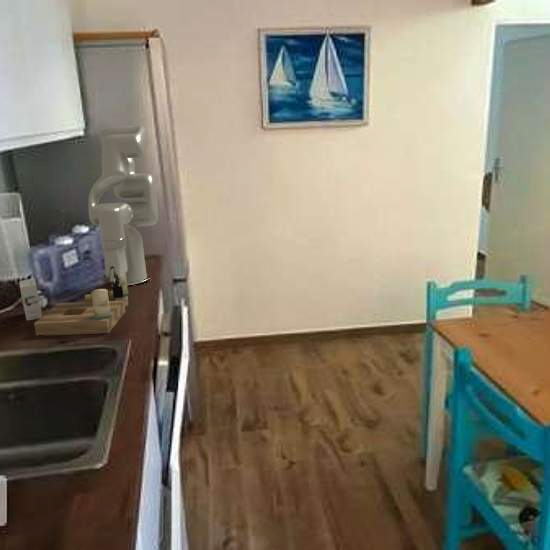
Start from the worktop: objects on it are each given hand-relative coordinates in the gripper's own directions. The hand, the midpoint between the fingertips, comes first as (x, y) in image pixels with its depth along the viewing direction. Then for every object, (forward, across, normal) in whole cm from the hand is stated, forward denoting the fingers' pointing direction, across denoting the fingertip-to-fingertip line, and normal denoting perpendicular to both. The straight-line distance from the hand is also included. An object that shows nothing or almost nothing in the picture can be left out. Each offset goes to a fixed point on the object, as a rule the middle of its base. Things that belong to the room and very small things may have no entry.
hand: (121, 294), depth 178 cm
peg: (+4, 0, 0) cm, 4 cm away
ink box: (+4, +7, -28) cm, 29 cm away
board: (+4, +16, -8) cm, 18 cm away
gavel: (+5, -9, -11) cm, 15 cm away
